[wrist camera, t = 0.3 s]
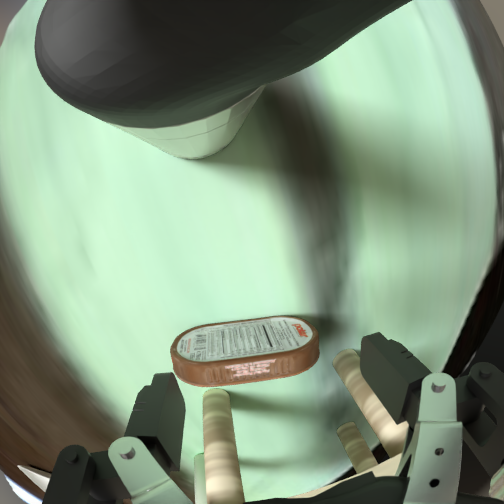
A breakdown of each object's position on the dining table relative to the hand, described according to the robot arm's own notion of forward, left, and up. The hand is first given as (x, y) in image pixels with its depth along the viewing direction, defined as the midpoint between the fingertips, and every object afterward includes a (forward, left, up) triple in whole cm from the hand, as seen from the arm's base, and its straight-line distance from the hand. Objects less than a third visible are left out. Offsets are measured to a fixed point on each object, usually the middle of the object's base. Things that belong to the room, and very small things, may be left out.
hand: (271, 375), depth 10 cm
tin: (+8, -1, -18) cm, 20 cm away
